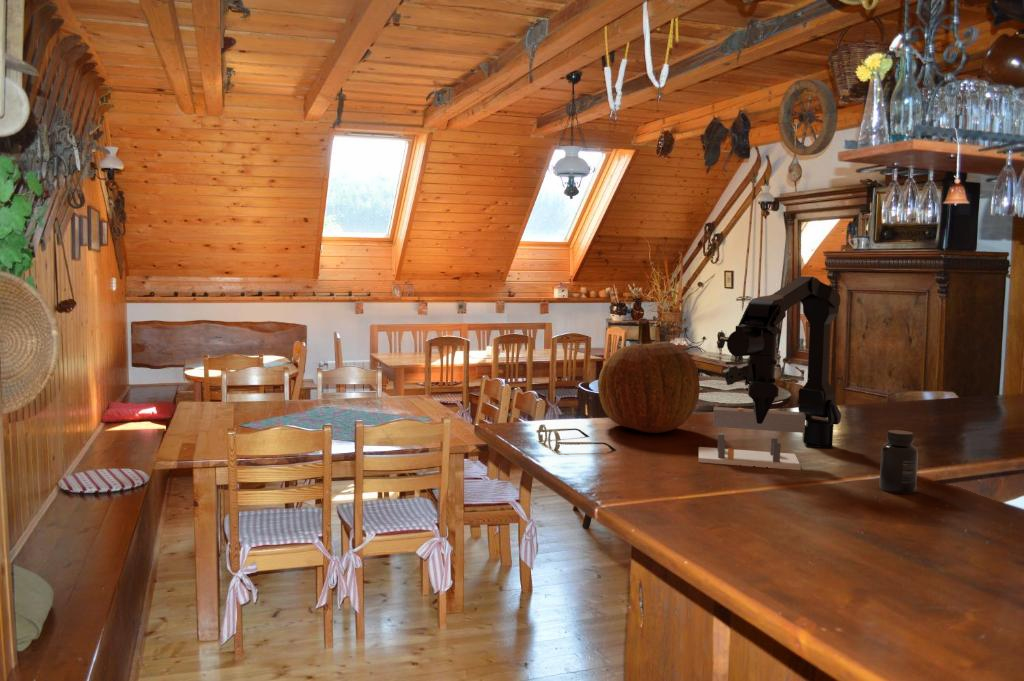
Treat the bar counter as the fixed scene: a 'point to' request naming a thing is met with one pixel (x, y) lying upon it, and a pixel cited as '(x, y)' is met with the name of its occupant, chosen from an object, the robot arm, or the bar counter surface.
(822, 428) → the robot arm
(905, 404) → the bar counter surface
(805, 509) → the bar counter surface
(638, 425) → the pumpkin
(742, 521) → the bar counter surface
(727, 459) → the collar stand
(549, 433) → the eyeglasses
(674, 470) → the bar counter surface
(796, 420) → the grey square bar
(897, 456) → the supplement bottle
